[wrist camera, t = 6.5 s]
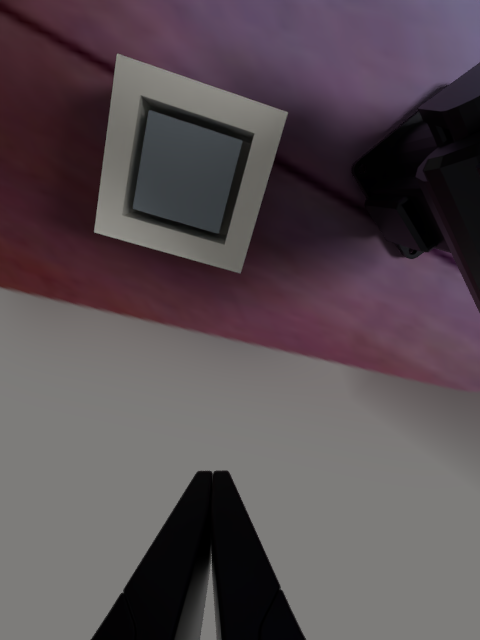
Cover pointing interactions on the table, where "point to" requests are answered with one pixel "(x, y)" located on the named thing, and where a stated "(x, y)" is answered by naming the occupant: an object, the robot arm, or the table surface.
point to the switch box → (202, 110)
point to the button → (185, 172)
